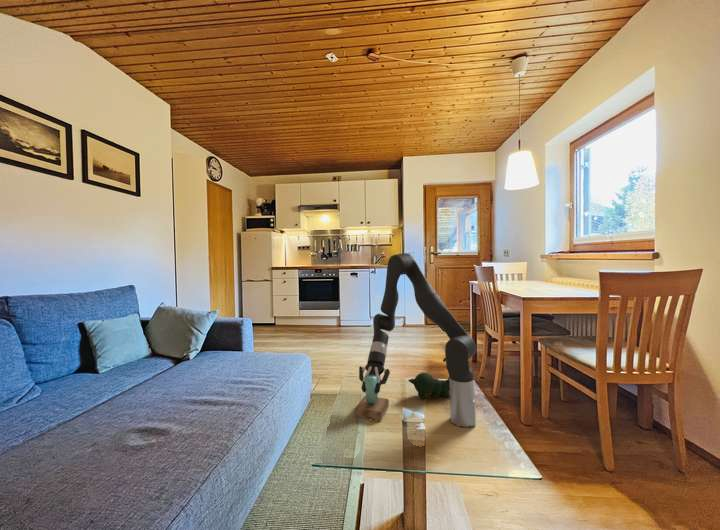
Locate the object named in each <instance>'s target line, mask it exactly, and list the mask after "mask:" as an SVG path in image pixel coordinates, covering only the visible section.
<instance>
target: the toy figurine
mask: <svg viewBox="0 0 720 530" xmlns="http://www.w3.org/2000/svg"><path fill="white" fill-rule="evenodd" d="M442 362H444V363H446V356H445V357H444V358H443V360H442ZM407 381H408V382H409V383H411V384H413V386H414V389H415V390H416V392H417V394H418V397H419V398H420V399H425V398H426V396H428V395H430V394H432V395H433V397H434V398H436V399H438V398H440V395H442V396H443V397H444V398H448V397H449V393H450V390H449V377H448V378H447V379H446V380H443V379H442V380H439V379H437V378H434V376H432V375H431V374H430V373H427V372H420V373H418V374H417V375H416V376H415V378H410V379H408V380H407Z"/></svg>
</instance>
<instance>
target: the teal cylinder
mask: <svg viewBox="0 0 720 530" xmlns="http://www.w3.org/2000/svg"><path fill="white" fill-rule="evenodd" d="M364 377H365V396H366V401H367V402H368V403H375V402H377V401H378V398H379V397H378V396H379V393H378V394H376V393H375V388H376V384H377V376H376V375H373V374H369V375H366V376H365V375H364Z"/></svg>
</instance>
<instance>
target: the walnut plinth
mask: <svg viewBox="0 0 720 530" xmlns="http://www.w3.org/2000/svg"><path fill="white" fill-rule="evenodd" d="M389 400H390V399H389V398H383V397H378V401H377V402H375V403H368V402H367V401H366V395H364V396H363V397H362V398H361V400H359V403H358V404H357V405H356V406H355V408H354V412H355V413H354V415H355V418H357V419H363V420H368V419H372V420H371V421H374V420H377V421H376V422H380V421H381V420H382V421H383V419H384V417H385V416H386V414H387V412H388V410H389V409H388V407H389V406H390V404H389V403H390V402H389ZM389 408H390V407H389ZM387 409H388V410H387ZM386 411H387V412H386ZM385 413H386V414H385ZM384 415H385V416H384ZM383 416H384V417H383ZM382 418H383V419H382ZM382 421H381V422H382Z"/></svg>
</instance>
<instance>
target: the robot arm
mask: <svg viewBox="0 0 720 530" xmlns="http://www.w3.org/2000/svg"><path fill="white" fill-rule="evenodd" d="M387 261H388V262H387V266H386V267H387V268H386V276H385V278H386V279H385V286H384V293H383V297H382V301H381V305H380V311H381V313H377V314H375V315H374V317H373V321H372V322H373V323H372V324H373V325H372V326H373V337H372V341H371V345H370V349H369V353H368V358H367V363H366V365H365V366H362V365H361V366H359V368H358V371H359V372H358V378H359V380H360V382H361V391H362V393H366V391H365V376H366V375H369V374H373V375H376V376H377V384H376V388H375V393H376V394H378V395H379V393H380V392H381V386H382V385H386V383H387V381H388V379H389V376H390V375H391V371H390V369H389V368H385V363H386V358H387V353H388V352H387V351H388V343H389V334H388V333H387V332H392V331H393V330H394V329H395V325H396V320H395V316H396V315H395V314H396V310H397V306H398V303H399V291H398V282H399V279H400V276H402V275H403V276H404V275H406V277H407V278H408V279H409V281H410V282H411V284H412V287H413V290H414V291H413V292H414V298H415V301H416V304H417V306H418V307H419V308H420V310H421V312H422V313H423V314H424V315H425V317H426V318H427V319H429V320H430V321H431V322H433V323H434V324H436V326H438V327H439V328H440V329H441V330H443V331H444V333H445V334H446V335H447V337H448V339H449V340H448V341H447V342H446V343H445V347H444V348H445V349H444V351H445V352H444V353H445V354H444V355H445V357H446V361H445V365H446V371H447V372H448V378H449V390H450V391H449V409H450V412H449V413H450V414H449V415H450V416H449V417H450V421H451V423H452V422H453V423H452V424H454V423H455V424H457V425H459V426H458V427H460V426H463V427H462V428H469V427H468V426H471V427H474V426H475V427H476V422H477V421H476V420H477V416H476V395H475V394H476V393H475V373H474V370H472V369H471V368H470V362H469V360H470V358H472V357H473V356H474V355H475V354H476V352H477V345H476V343H475V341H474V338H473V337H472V336H471V335H470V333H468V332H467V331H466V329H464V327H463V326H462V325H461V324H460V323H459V322H458V321H457V319H456V318H455V317H454V315H453V314H452V313H451V311H450V310H449V308H448V307H447V306H446V304H445V303H444V301H443V299H441V297H440V295H439V293H437V291H436V290H435V289H434V287H433V286H432V284H431V283H430V282H429V280H428V279H427V278H426V276H425V275H424V273H423V272H422V270H421V268H420V266H419V264H418V263H417V262H416V260H415V258H414V256H412V255H411V254H410V253H407V252H403V253H398V254H392V255H391V256H390V257H389V259H388V260H387ZM385 331H387V332H385ZM365 371H366V373H365ZM364 373H365V375H364ZM382 374H383V376H382V378H381V375H382ZM455 424H454V425H455ZM457 425H456V426H457Z"/></svg>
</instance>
